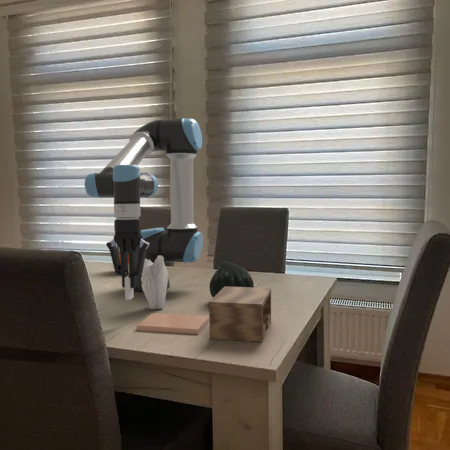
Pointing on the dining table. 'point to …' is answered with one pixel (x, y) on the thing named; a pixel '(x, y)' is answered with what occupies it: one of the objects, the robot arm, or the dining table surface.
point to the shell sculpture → (155, 282)
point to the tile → (174, 323)
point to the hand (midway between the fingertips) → (129, 298)
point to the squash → (229, 277)
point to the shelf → (240, 313)
